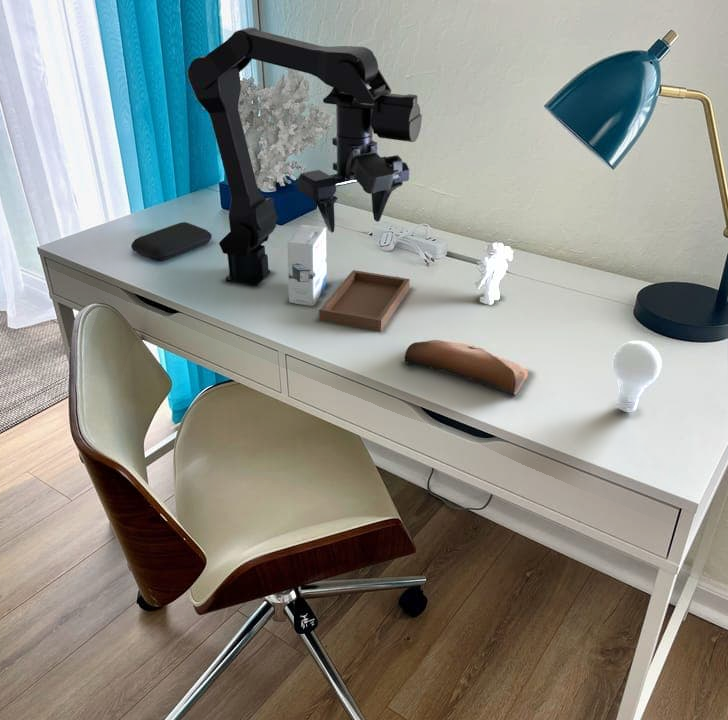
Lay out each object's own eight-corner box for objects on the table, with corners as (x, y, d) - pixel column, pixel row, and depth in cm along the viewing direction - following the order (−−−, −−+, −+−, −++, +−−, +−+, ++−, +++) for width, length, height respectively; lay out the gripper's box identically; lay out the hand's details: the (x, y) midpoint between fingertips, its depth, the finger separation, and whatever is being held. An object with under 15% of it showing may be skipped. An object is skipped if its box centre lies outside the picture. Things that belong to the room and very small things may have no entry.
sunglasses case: (532, 368, 113) (529, 346, 107) (516, 408, 110) (513, 387, 105) (426, 339, 120) (418, 317, 114) (409, 375, 118) (400, 355, 112)
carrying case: (183, 230, 158) (124, 251, 148) (181, 216, 156) (122, 237, 147) (216, 243, 153) (158, 266, 143) (215, 229, 151) (155, 251, 141)
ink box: (302, 282, 138) (300, 223, 132) (328, 285, 137) (327, 226, 131) (288, 303, 131) (285, 242, 124) (315, 306, 130) (313, 245, 124)
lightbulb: (603, 393, 109) (617, 329, 103) (648, 401, 107) (665, 336, 101) (601, 418, 104) (616, 351, 98) (648, 427, 102) (666, 360, 96)
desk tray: (319, 320, 126) (319, 309, 125) (353, 280, 139) (353, 269, 138) (381, 331, 123) (381, 320, 122) (409, 289, 136) (409, 279, 135)
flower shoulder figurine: (485, 311, 130) (492, 248, 123) (467, 304, 132) (472, 242, 125) (512, 294, 135) (520, 232, 129) (494, 287, 138) (501, 227, 131)
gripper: (330, 156, 107) (332, 255, 115) (432, 137, 116) (426, 230, 125) (293, 137, 115) (297, 231, 123) (391, 121, 124) (388, 210, 132)
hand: (354, 226), depth 126 cm, fingers open, 9 cm apart
